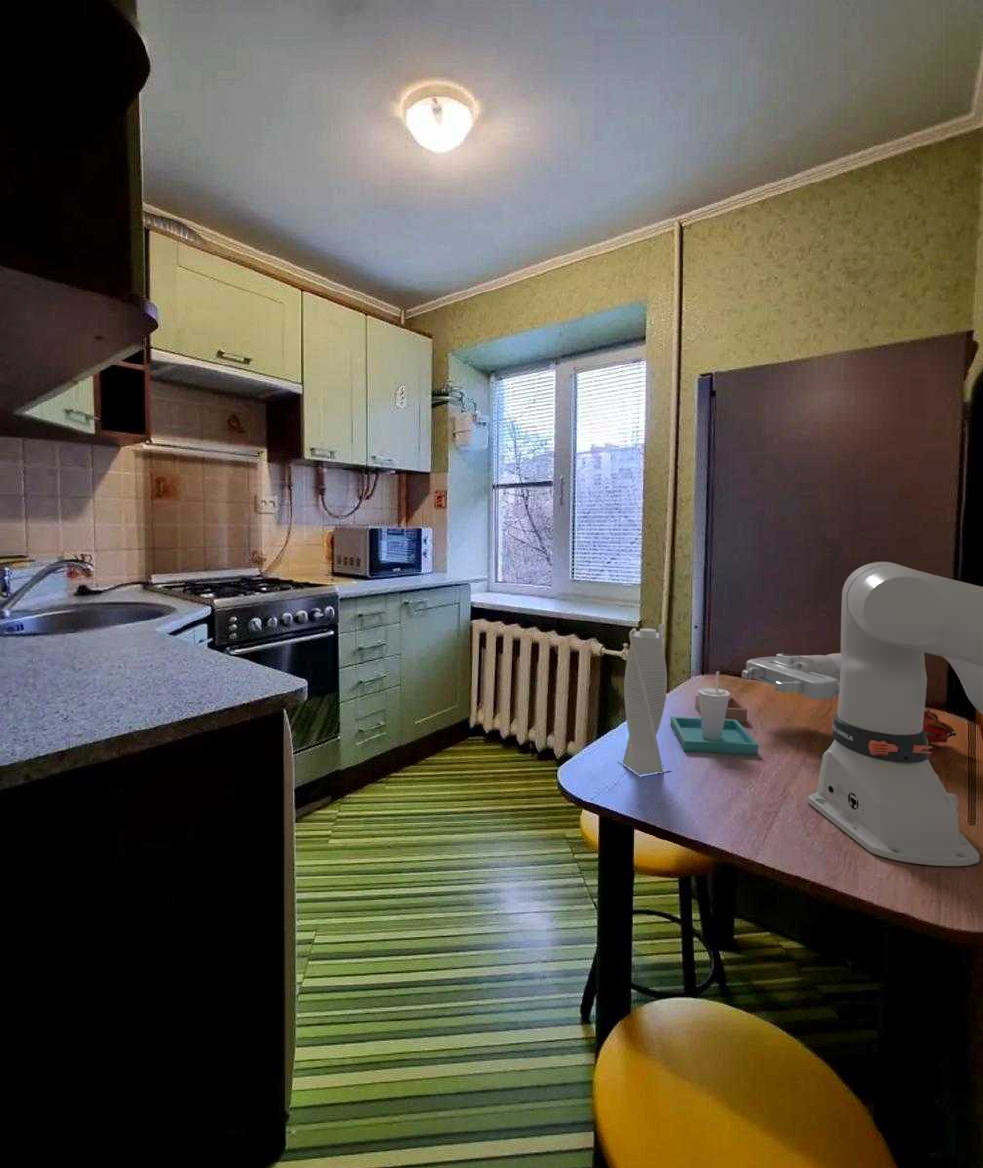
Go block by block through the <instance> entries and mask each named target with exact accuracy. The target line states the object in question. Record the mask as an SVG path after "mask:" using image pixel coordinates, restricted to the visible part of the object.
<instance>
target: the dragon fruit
mask: <svg viewBox="0 0 983 1168" xmlns="http://www.w3.org/2000/svg"><path fill="white" fill-rule="evenodd" d="M923 728H924V730H925V732H926V737H927V739H928V744H929V745H928V746H932V748H931V749H937V748H938V749H939V746H937V745H932V744H931V743H933V744H936V743H947V742H948V738H950V737H951V738H952V736H953V737H956V735H957V733H956V732H955V729H954V728H953V727H952V726H951V725H950V724H948V723H946V722H945V721H940V720H939V717H938V715H937V714H936V713H935V712H931V710H930V709H928V708H927V709H924V719H923Z"/></svg>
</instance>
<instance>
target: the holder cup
mask: <svg viewBox="0 0 983 1168" xmlns="http://www.w3.org/2000/svg"><path fill="white" fill-rule="evenodd" d="M694 705H695V707H694V708H695V709H696V711H697V712H698V714H699V715H700V716H701V714H700V702H699V696H698V695H695V703H694ZM725 719H732V720H737V721H738V722H739V723H747V722H748V708H746V707H745V706H744V705H743V704H742V702H740V701H739V700H738V698H737V697H735V696H734V697H733V696H730V700H728V705H727V710H726V716H725Z"/></svg>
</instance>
